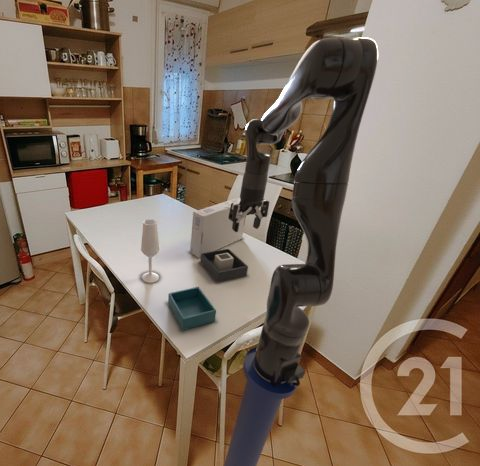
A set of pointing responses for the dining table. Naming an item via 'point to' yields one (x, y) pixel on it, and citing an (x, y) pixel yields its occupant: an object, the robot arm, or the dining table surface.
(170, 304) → the near tote
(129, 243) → the dining table surface
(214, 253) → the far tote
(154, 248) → the champagne flute
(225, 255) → the white box with panel
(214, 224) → the packaging
